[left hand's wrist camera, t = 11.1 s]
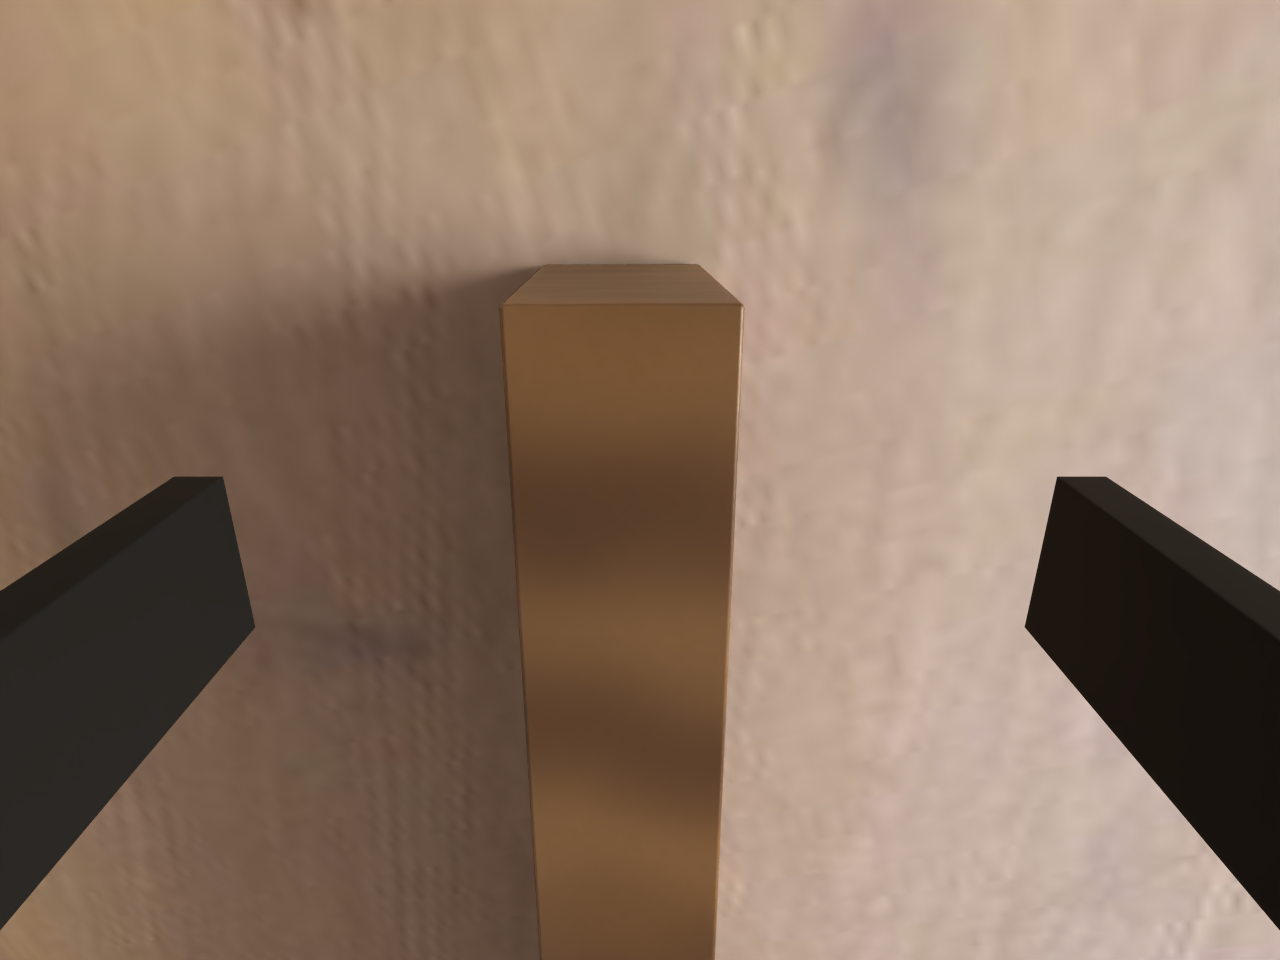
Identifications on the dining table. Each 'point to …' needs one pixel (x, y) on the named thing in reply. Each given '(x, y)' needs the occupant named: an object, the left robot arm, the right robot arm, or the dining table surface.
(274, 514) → the dining table surface
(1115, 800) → the dining table surface
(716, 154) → the dining table surface
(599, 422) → the post
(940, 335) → the dining table surface
